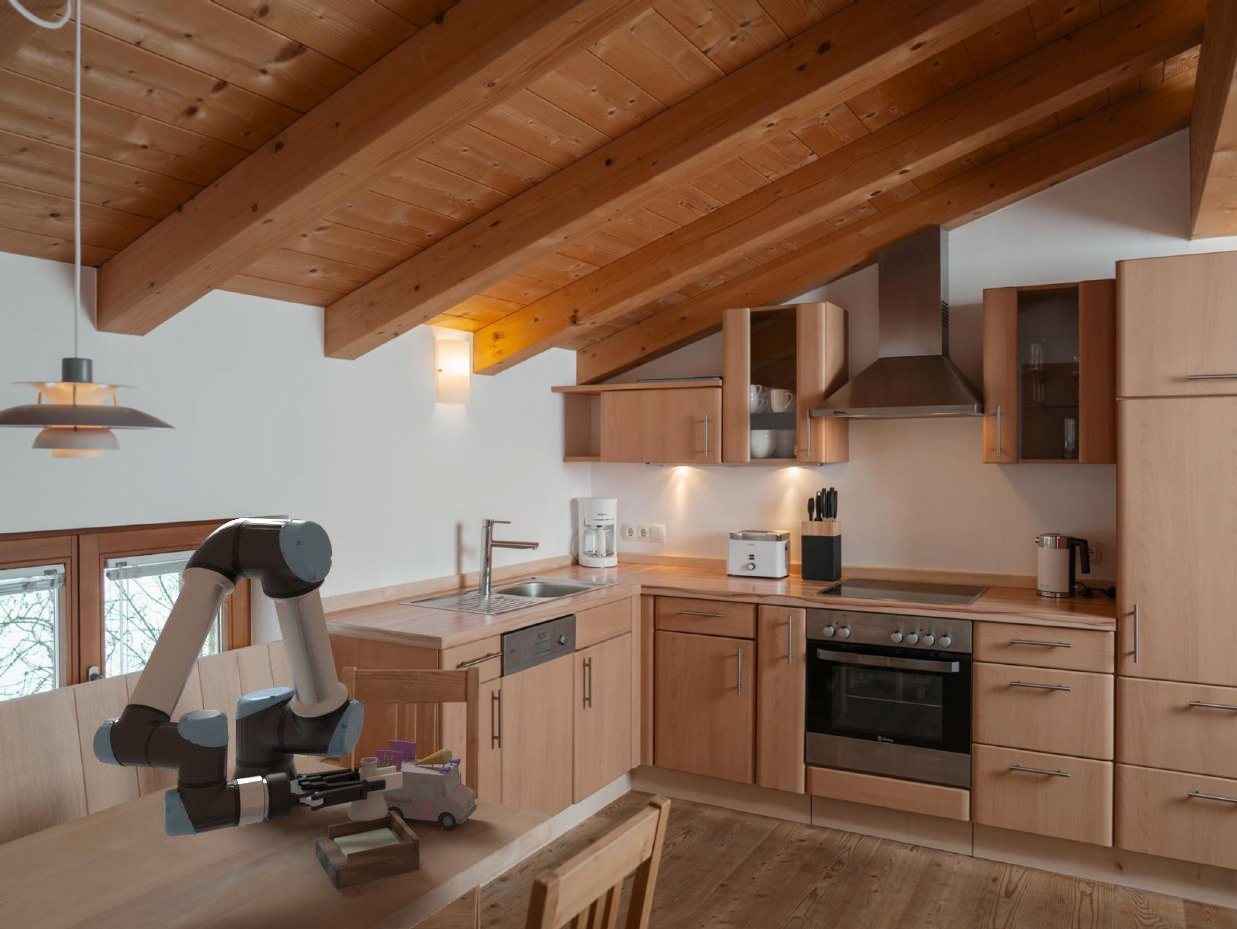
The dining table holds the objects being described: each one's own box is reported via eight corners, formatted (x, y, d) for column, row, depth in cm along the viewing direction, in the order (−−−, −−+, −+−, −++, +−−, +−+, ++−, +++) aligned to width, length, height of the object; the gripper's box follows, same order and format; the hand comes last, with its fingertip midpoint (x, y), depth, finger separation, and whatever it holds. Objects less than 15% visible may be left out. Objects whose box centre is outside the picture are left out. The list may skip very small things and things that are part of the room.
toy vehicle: (461, 835, 177) (462, 758, 177) (368, 825, 181) (370, 750, 181) (477, 817, 186) (479, 744, 186) (389, 808, 190) (390, 736, 190)
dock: (315, 854, 167) (316, 824, 167) (393, 838, 174) (394, 810, 174) (335, 888, 154) (336, 856, 154) (419, 869, 162) (419, 838, 162)
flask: (389, 820, 162) (390, 764, 162) (347, 824, 160) (348, 767, 160) (387, 805, 169) (388, 752, 169) (347, 809, 166) (348, 755, 167)
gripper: (255, 804, 162) (385, 783, 174) (272, 837, 148) (412, 811, 160) (256, 762, 162) (386, 744, 174) (273, 791, 148) (413, 769, 160)
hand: (398, 776), depth 167 cm, fingers closed on flask, 3 cm apart
